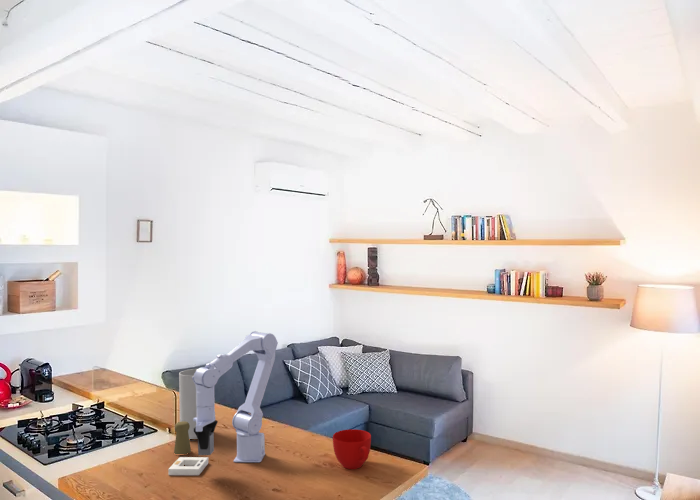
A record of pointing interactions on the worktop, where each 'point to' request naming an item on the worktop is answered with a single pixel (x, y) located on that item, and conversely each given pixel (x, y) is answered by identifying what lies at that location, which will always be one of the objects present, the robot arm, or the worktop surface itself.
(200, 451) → the plug
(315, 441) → the worktop surface
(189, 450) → the olive tapered pepper mill
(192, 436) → the cylinder vase
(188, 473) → the socket plate
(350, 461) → the ceramic cup
